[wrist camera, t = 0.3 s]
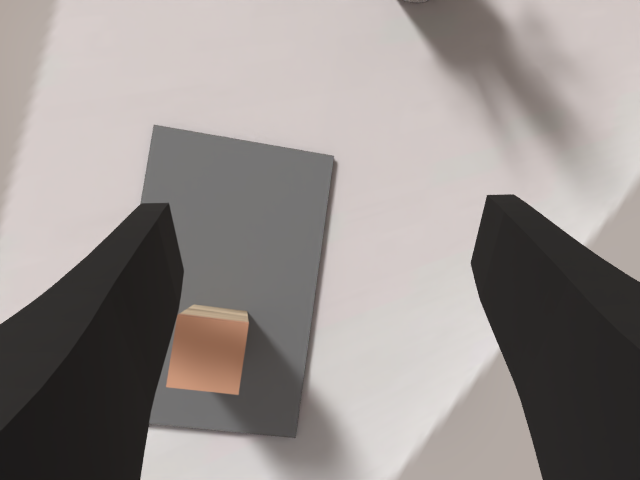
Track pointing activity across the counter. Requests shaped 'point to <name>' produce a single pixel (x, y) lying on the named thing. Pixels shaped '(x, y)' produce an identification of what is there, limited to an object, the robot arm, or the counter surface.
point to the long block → (208, 349)
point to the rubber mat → (243, 266)
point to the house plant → (416, 1)
